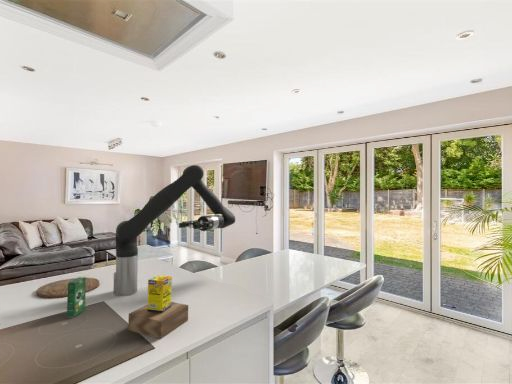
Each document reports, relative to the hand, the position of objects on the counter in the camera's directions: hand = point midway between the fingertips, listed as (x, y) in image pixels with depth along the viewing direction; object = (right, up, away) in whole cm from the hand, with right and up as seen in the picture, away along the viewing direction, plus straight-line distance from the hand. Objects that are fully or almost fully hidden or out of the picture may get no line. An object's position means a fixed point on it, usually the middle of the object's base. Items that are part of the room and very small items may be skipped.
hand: (186, 226), depth 123 cm
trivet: (-59, -32, +8) cm, 67 cm away
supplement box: (-2, -26, -28) cm, 38 cm away
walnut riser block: (-2, -32, -28) cm, 42 cm away
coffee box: (-37, -31, -19) cm, 52 cm away
